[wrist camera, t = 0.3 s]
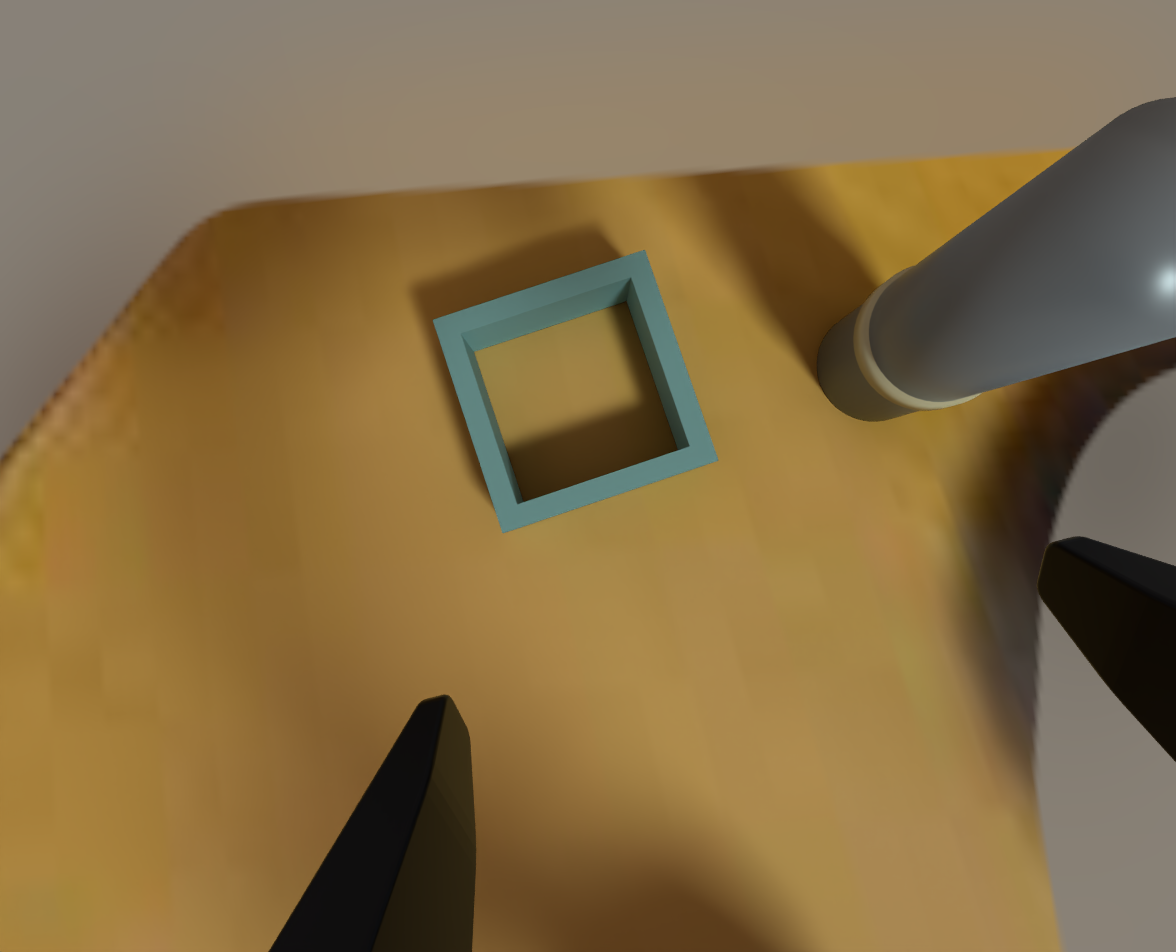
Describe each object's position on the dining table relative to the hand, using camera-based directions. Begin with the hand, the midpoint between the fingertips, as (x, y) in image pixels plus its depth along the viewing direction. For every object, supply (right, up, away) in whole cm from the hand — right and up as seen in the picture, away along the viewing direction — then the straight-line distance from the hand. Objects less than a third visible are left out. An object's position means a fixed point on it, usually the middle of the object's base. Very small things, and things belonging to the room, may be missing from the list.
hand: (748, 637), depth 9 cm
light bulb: (+9, +7, +15) cm, 19 cm away
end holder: (-3, +5, +15) cm, 16 cm away
